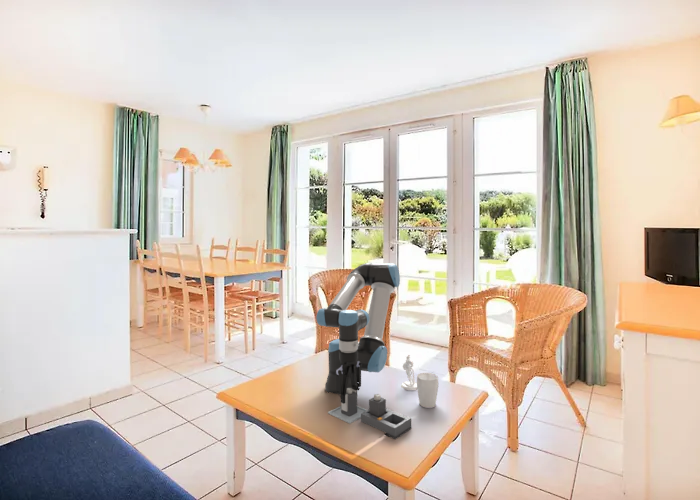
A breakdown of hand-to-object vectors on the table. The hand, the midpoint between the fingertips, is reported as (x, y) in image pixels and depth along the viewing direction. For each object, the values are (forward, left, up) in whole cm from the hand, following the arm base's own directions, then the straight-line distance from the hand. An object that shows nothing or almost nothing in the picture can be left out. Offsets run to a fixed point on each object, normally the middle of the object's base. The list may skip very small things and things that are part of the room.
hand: (349, 407), depth 149 cm
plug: (0, 0, -2) cm, 2 cm away
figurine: (+2, +40, -3) cm, 40 cm away
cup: (+18, +29, -3) cm, 34 cm away
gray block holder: (+16, +3, -3) cm, 17 cm away
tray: (0, 0, -3) cm, 3 cm away
